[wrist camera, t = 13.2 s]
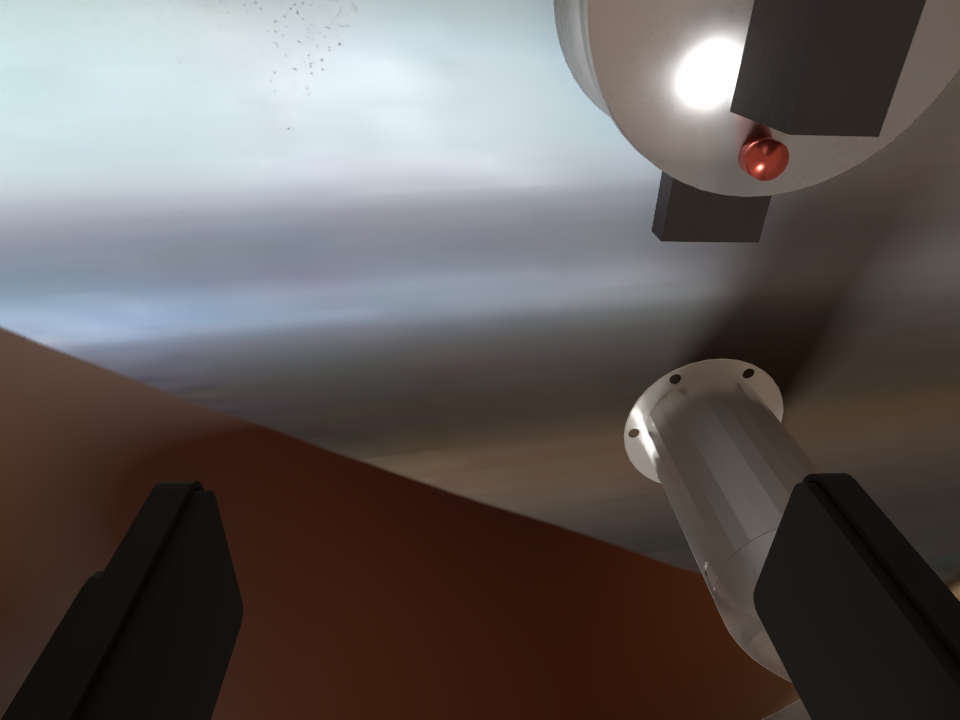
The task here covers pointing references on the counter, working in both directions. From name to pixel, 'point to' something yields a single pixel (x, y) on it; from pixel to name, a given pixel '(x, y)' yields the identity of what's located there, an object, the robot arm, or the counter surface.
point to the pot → (678, 204)
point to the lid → (767, 83)
